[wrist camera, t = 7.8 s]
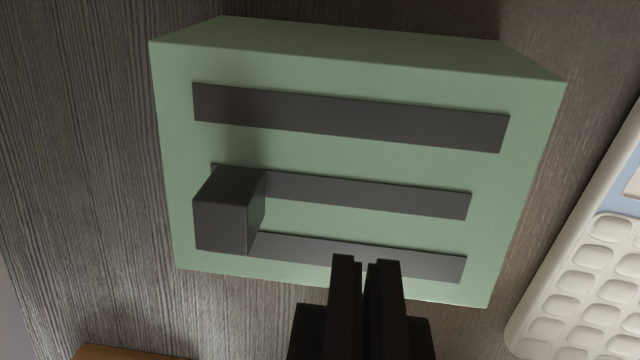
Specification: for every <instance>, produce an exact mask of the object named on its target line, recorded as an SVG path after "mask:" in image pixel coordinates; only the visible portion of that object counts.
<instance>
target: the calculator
mask: <svg viewBox="0 0 640 360" xmlns="http://www.w3.org/2000/svg"><path fill="white" fill-rule="evenodd" d="M503 338H504V342H505V345H506V348H507V349H508V351H510V352H511V353H512V354H514V355H516V356H518V357H521V358H525V359H528V360H640V96H639V98H638V100H637V101H636V103H635V105H634V106H633V108H632V110H631V112H630V113H629V115H628V117H627V118H626V120H625V122H624V123H623V125H622V127H621V129H620V130H619V132H618V134H617V135H616V137H615V139H614V141H613V142H612V144H611V146H610V147H609V149H608V151H607V153H606V154H605V156H604V158H603V159H602V161H601V163H600V165H599V166H598V168H597V170H596V171H595V173H594V175H593V177H592V178H591V180H590V182H589V183H588V185H587V187H586V189H585V190H584V192H583V194H582V195H581V197H580V199H579V201H578V202H577V204H576V206H575V208H574V209H573V211H572V213H571V214H570V216H569V218H568V220H567V221H566V223H565V225H564V226H563V228H562V230H561V232H560V233H559V235H558V237H557V238H556V240H555V242H554V244H553V245H552V247H551V249H550V250H549V252H548V254H547V256H546V257H545V259H544V261H543V262H542V264H541V266H540V268H539V269H538V271H537V273H536V274H535V276H534V278H533V280H532V281H531V283H530V285H529V286H528V288H527V290H526V292H525V293H524V295H523V297H522V298H521V300H520V302H519V304H518V305H517V307H516V309H515V310H514V312H513V314H512V316H511V317H510V319H509V321H508V323H507V325H506V327H505V330H504V334H503Z"/></svg>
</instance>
